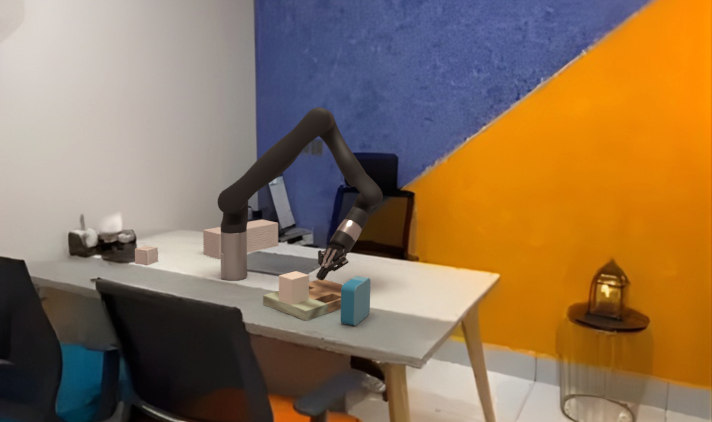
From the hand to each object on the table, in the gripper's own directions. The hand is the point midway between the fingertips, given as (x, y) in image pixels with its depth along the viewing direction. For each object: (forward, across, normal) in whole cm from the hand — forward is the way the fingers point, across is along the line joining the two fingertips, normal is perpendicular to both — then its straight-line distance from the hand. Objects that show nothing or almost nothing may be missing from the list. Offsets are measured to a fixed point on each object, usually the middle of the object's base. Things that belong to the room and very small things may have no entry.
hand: (319, 278), depth 190 cm
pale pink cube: (+18, -80, -7) cm, 82 cm away
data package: (+8, +19, +3) cm, 21 cm away
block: (+11, 0, -5) cm, 12 cm away
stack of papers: (-10, -71, +21) cm, 74 cm away
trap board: (+7, 0, +4) cm, 8 cm away
